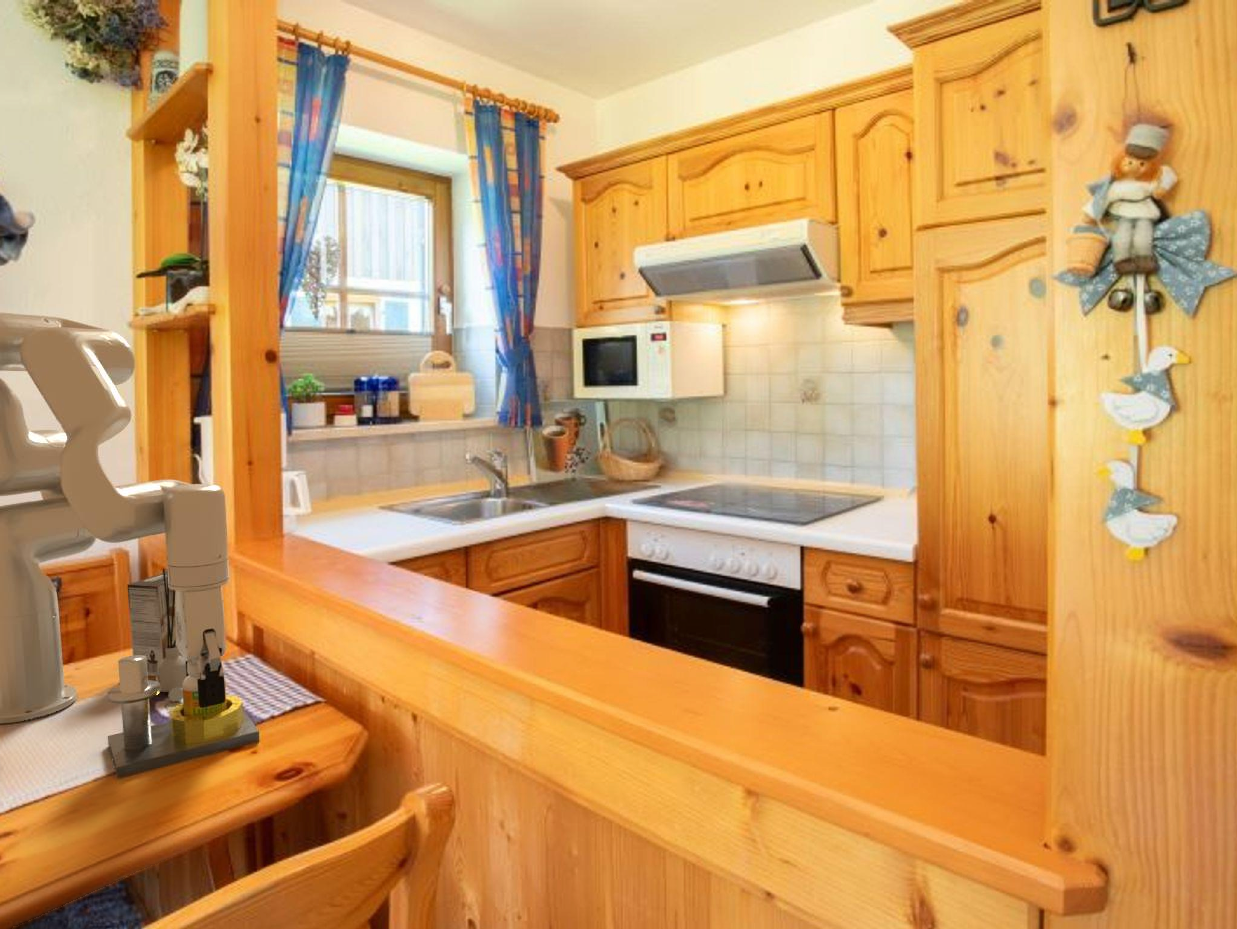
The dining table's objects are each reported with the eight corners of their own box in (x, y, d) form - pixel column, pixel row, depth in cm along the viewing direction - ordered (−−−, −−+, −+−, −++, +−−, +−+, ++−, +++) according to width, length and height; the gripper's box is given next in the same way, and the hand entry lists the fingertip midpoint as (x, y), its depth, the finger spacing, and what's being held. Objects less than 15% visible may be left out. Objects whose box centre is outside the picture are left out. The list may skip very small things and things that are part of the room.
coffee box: (172, 656, 144) (167, 570, 142) (203, 659, 142) (198, 572, 141) (132, 675, 135) (126, 583, 133) (164, 678, 133) (158, 585, 132)
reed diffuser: (151, 686, 130) (144, 567, 128) (197, 675, 134) (191, 561, 132) (164, 706, 122) (156, 580, 120) (212, 694, 127) (206, 573, 124)
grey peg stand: (117, 778, 101) (110, 677, 99) (108, 746, 109) (101, 652, 108) (259, 741, 111) (254, 648, 109) (240, 714, 120) (236, 628, 118)
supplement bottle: (190, 739, 108) (186, 671, 107) (180, 726, 112) (176, 660, 111) (232, 728, 112) (229, 662, 111) (221, 715, 116) (218, 651, 115)
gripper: (158, 565, 114) (165, 681, 116) (179, 592, 100) (187, 723, 102) (215, 558, 118) (221, 669, 120) (243, 582, 105) (249, 708, 107)
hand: (205, 693), depth 111 cm, fingers open, 8 cm apart
